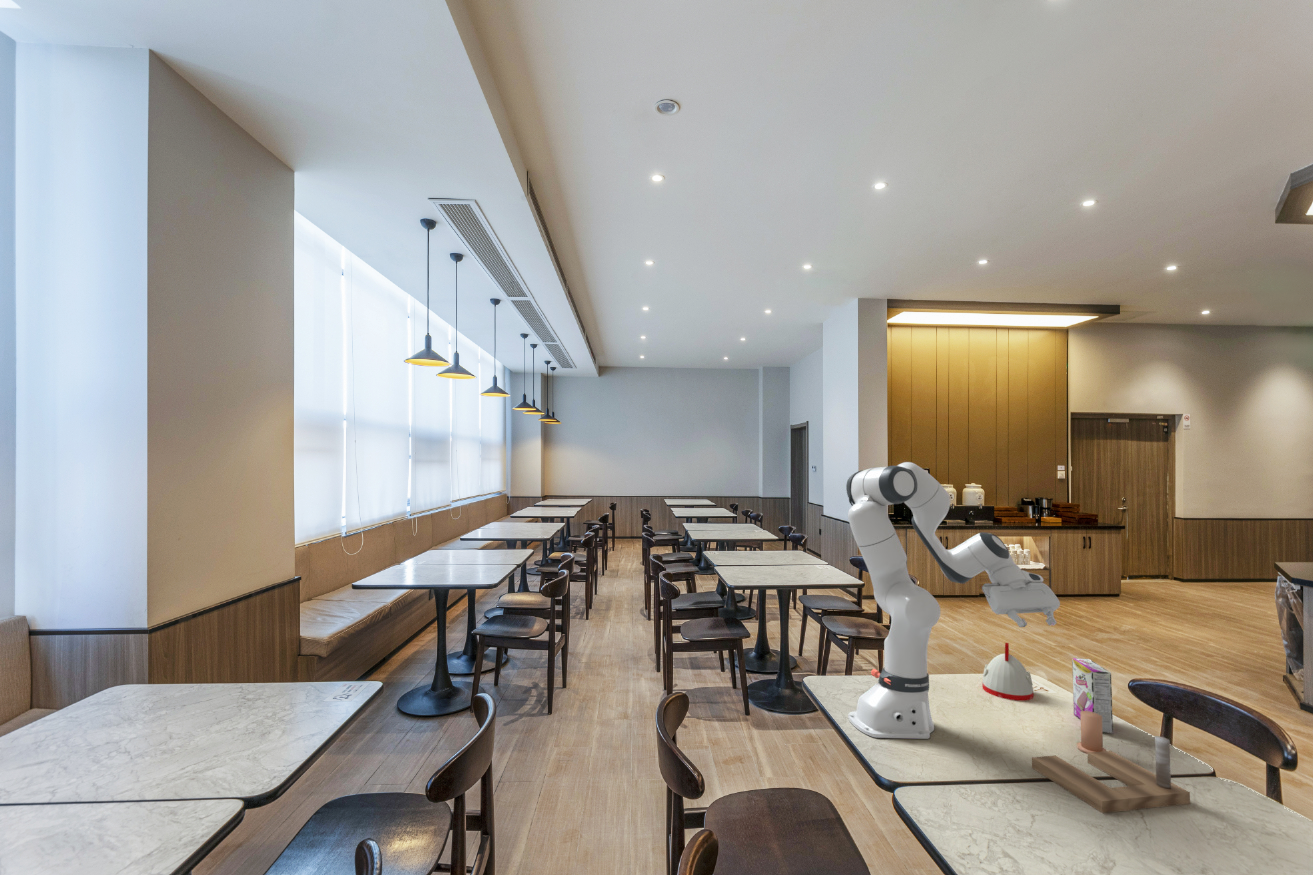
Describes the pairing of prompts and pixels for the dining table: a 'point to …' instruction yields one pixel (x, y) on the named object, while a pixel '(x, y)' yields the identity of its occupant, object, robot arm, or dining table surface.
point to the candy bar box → (1092, 691)
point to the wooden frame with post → (1141, 782)
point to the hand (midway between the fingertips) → (1038, 625)
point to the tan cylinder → (1091, 733)
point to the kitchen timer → (1007, 678)
